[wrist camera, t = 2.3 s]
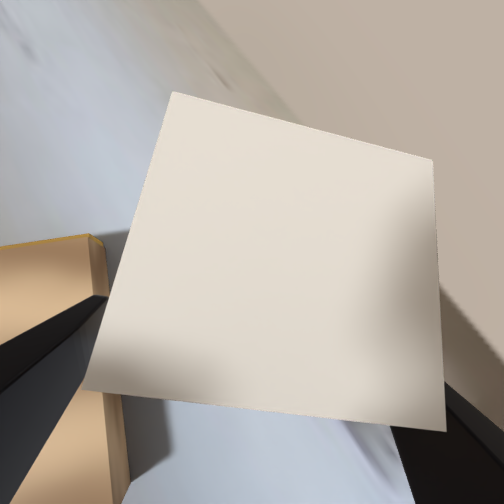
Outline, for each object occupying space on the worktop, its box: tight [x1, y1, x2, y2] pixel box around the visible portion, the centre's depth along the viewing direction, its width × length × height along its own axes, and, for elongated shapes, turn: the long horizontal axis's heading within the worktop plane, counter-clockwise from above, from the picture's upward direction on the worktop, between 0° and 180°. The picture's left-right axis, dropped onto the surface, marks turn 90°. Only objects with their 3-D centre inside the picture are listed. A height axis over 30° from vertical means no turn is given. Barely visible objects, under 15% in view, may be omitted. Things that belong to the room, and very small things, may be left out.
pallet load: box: [81, 91, 447, 432], centre depth 11 cm, size 6×6×13 cm
